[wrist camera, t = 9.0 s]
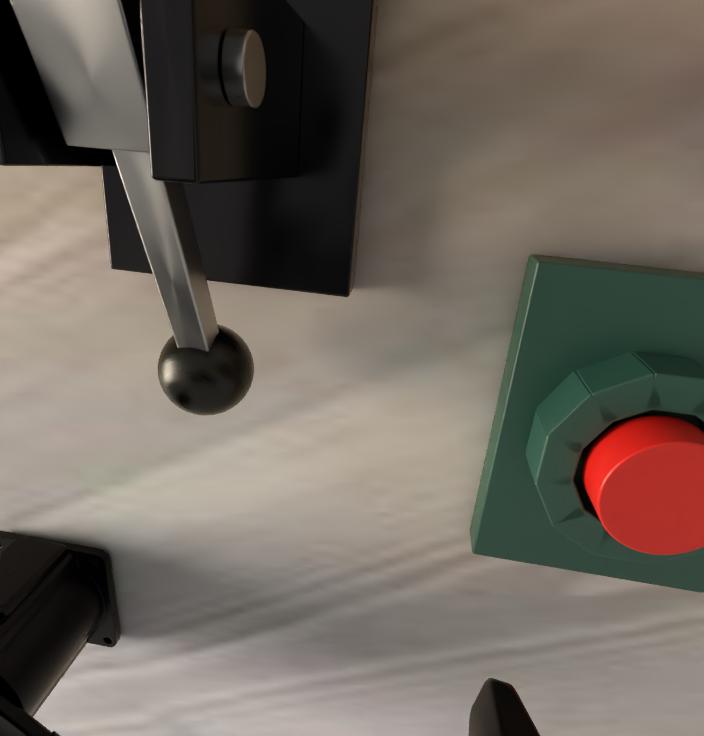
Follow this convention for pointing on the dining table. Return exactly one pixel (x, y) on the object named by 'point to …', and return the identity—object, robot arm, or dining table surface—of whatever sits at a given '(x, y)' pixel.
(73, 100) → the switch lever
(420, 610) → the dining table surface
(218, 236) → the switch bracket
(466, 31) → the dining table surface
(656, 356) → the button block
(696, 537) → the button
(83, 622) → the robot arm
